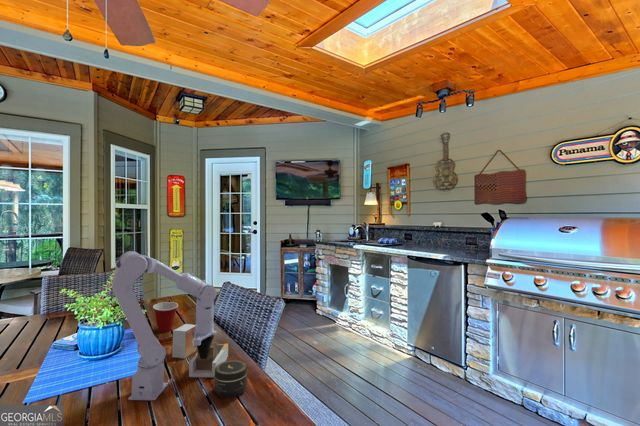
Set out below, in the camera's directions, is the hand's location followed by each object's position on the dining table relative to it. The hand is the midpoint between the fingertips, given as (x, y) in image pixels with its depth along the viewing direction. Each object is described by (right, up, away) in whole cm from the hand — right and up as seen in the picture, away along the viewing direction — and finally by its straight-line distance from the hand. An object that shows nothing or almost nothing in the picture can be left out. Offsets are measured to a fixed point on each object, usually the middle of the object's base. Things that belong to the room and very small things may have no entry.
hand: (203, 358), depth 114 cm
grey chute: (0, -6, +7) cm, 9 cm away
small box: (-13, -6, +16) cm, 22 cm away
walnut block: (0, -5, +4) cm, 6 cm away
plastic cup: (-33, -5, +41) cm, 53 cm away
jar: (+12, -7, -9) cm, 16 cm away
